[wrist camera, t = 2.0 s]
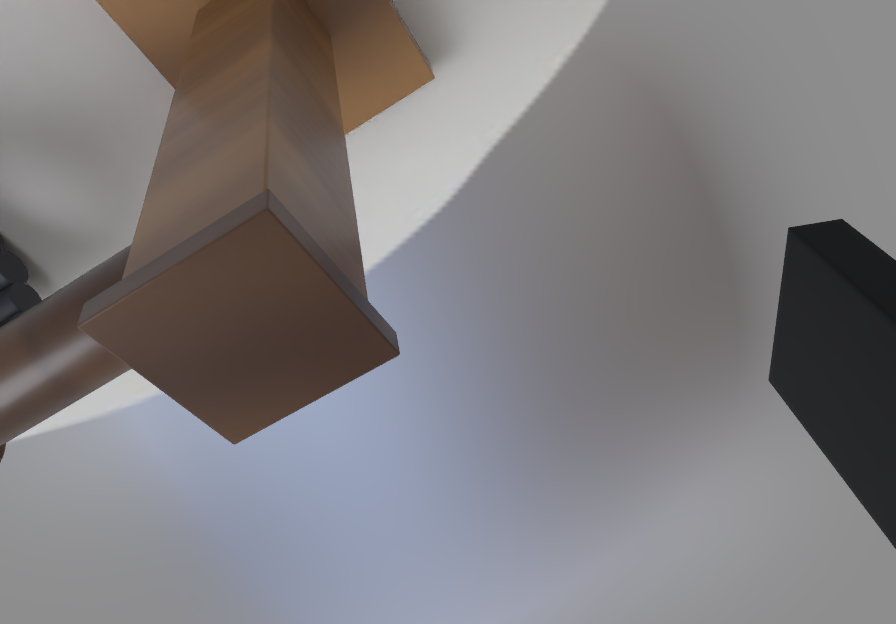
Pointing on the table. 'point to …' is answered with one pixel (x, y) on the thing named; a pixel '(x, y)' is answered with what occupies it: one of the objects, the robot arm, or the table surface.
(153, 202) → the stand
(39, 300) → the dark grey spur gear
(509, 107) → the table surface
